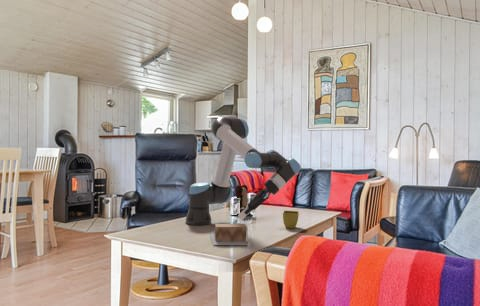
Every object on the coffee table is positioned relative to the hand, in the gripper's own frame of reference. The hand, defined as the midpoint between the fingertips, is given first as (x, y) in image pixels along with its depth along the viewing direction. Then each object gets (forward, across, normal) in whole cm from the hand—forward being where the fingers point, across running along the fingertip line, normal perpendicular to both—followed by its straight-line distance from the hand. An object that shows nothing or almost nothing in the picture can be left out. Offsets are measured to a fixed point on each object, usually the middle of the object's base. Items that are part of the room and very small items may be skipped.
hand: (239, 217), depth 185 cm
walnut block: (+3, 0, -7) cm, 8 cm away
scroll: (-1, +72, -17) cm, 74 cm away
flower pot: (-17, +31, -33) cm, 48 cm away
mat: (+12, 0, -4) cm, 12 cm away
